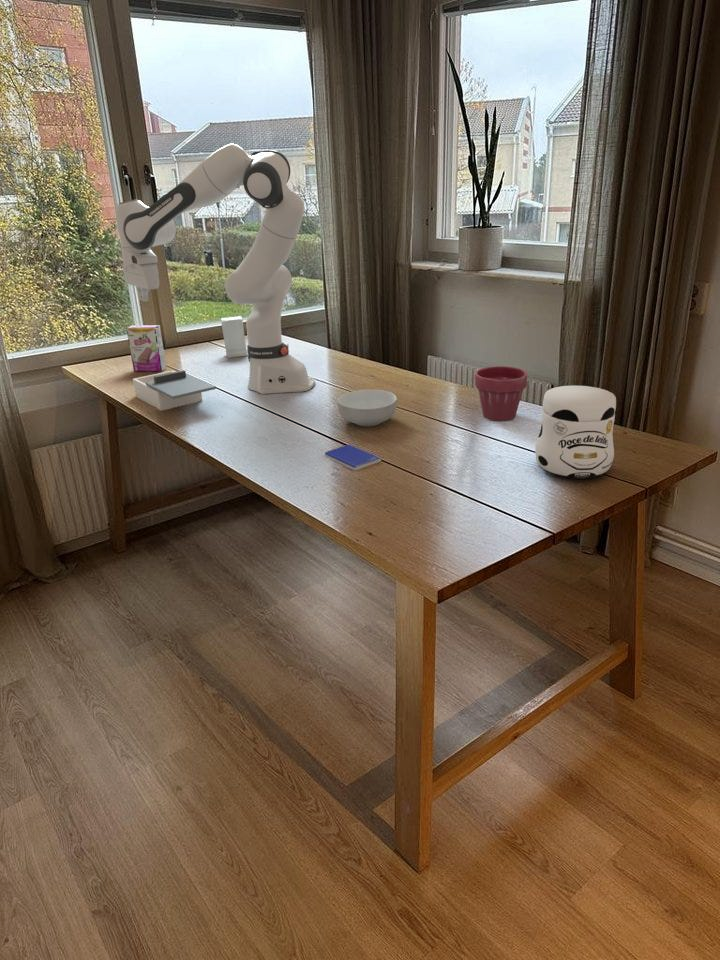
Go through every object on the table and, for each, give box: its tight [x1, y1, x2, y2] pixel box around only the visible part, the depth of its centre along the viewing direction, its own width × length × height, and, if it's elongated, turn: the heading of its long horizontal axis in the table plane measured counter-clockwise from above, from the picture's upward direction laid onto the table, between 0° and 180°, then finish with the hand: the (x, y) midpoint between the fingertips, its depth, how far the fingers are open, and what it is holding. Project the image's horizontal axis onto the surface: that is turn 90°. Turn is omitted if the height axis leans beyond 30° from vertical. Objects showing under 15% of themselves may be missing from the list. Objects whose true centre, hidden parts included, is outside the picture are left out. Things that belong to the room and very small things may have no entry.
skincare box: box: [220, 315, 248, 359], centre depth 263 cm, size 8×6×15 cm
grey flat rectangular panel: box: [146, 369, 217, 399], centre depth 207 cm, size 20×14×3 cm
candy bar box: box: [126, 324, 167, 373], centre depth 247 cm, size 11×5×16 cm, turn 84°
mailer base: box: [132, 370, 203, 412], centre depth 217 cm, size 20×14×6 cm
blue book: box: [324, 444, 382, 471], centre depth 167 cm, size 2×8×12 cm
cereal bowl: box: [337, 388, 398, 427], centre depth 190 cm, size 17×17×7 cm
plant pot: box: [474, 365, 528, 422], centre depth 189 cm, size 14×14×13 cm
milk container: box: [534, 385, 617, 480], centre depth 153 cm, size 17×17×18 cm
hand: (144, 300), depth 217 cm, fingers closed
